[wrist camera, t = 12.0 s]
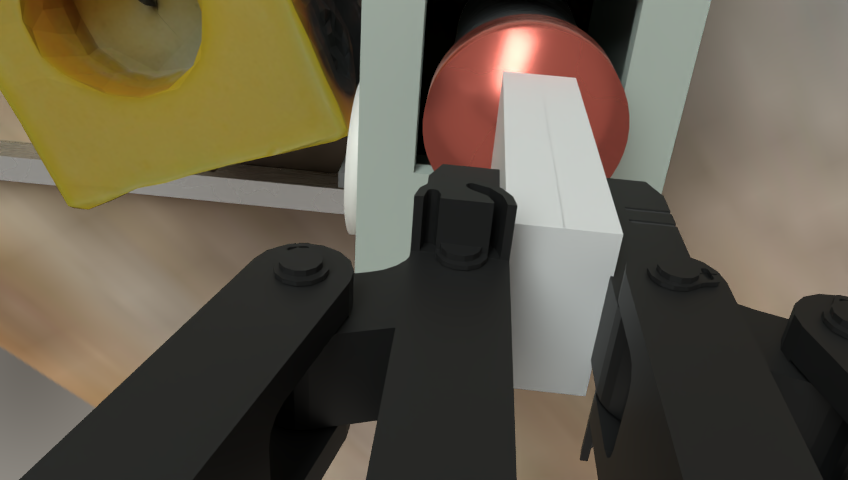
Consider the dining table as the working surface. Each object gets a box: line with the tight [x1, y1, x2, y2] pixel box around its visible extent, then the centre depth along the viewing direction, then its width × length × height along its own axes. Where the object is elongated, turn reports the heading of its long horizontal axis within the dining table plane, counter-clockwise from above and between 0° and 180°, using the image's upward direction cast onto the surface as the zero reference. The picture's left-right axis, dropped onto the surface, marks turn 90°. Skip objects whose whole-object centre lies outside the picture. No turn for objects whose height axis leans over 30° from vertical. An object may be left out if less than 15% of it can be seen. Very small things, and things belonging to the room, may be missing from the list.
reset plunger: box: [423, 0, 630, 178], centre depth 19 cm, size 4×4×8 cm
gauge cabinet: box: [338, 0, 711, 273], centre depth 23 cm, size 9×16×12 cm, turn 176°
